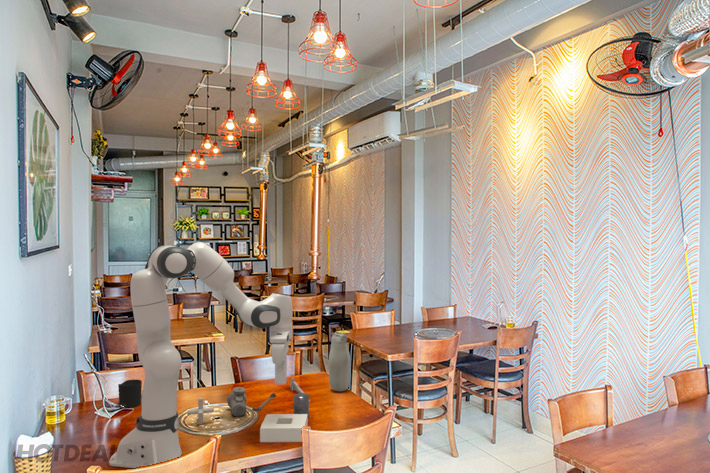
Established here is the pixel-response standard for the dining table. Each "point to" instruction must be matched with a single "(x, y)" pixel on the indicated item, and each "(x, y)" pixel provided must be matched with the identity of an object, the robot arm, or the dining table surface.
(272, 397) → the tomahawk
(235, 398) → the pipe fitting
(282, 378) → the square bar
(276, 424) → the bore block
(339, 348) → the grey bottle
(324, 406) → the dining table surface
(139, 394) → the pen holder
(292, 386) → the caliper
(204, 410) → the pipe connector
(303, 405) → the round pin
